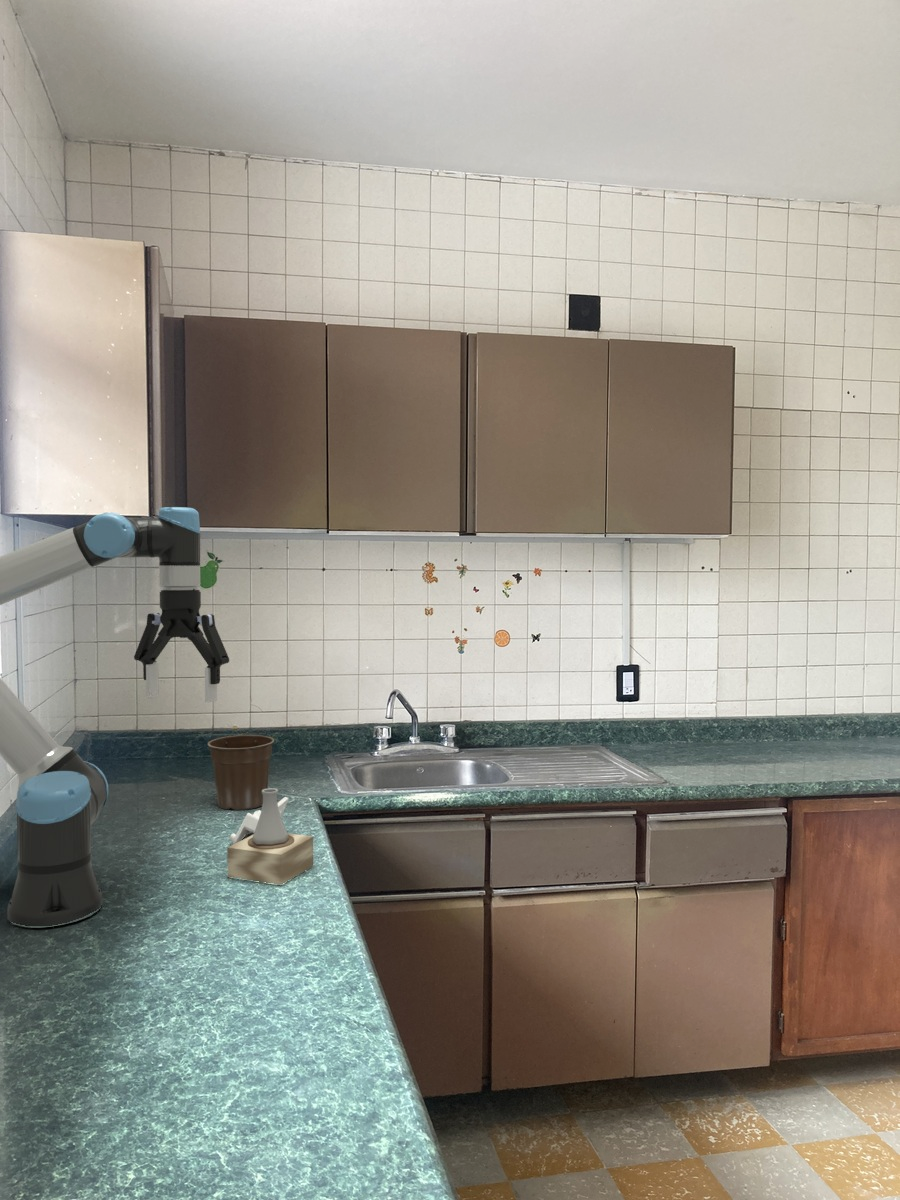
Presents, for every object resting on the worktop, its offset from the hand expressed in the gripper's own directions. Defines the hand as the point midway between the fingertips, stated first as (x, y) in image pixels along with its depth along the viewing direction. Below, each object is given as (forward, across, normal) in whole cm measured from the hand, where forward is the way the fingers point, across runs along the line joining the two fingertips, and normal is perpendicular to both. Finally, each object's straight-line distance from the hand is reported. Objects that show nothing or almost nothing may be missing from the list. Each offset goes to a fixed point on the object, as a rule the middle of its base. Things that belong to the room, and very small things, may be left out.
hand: (181, 699), depth 172 cm
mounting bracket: (+35, 0, -26) cm, 44 cm away
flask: (+29, -14, -9) cm, 33 cm away
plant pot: (+35, +20, -49) cm, 63 cm away
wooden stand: (+35, -14, -9) cm, 38 cm away
